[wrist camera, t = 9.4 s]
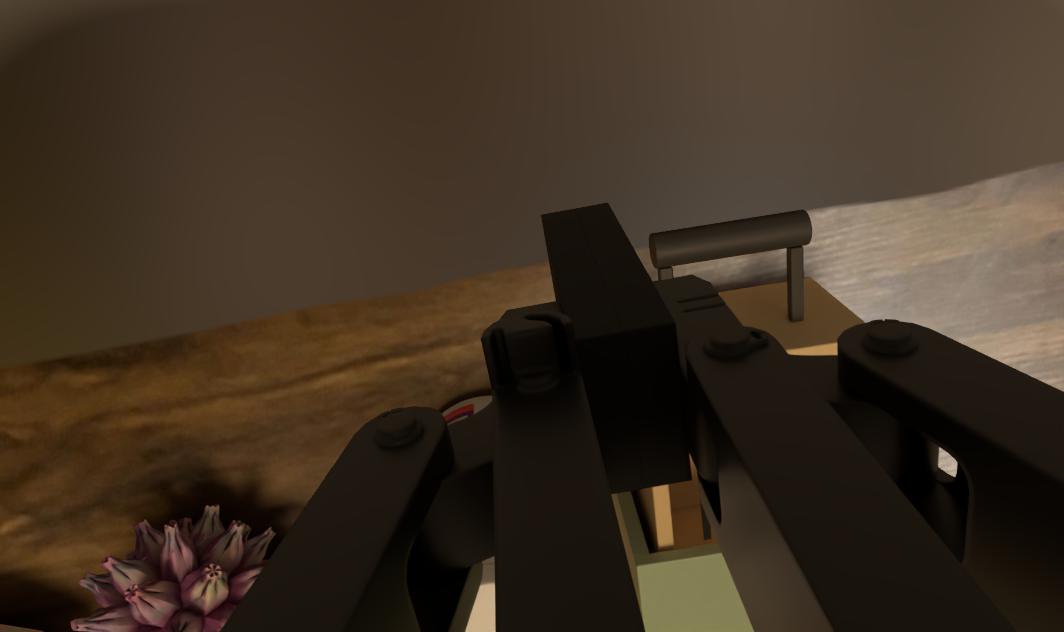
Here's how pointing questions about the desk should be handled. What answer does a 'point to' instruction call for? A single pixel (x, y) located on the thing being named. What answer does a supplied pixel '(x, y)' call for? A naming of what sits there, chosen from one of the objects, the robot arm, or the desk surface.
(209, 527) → the flower
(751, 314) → the drawer
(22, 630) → the geometric sphere
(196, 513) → the desk surface
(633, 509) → the cabinet
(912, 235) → the desk surface
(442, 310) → the desk surface
